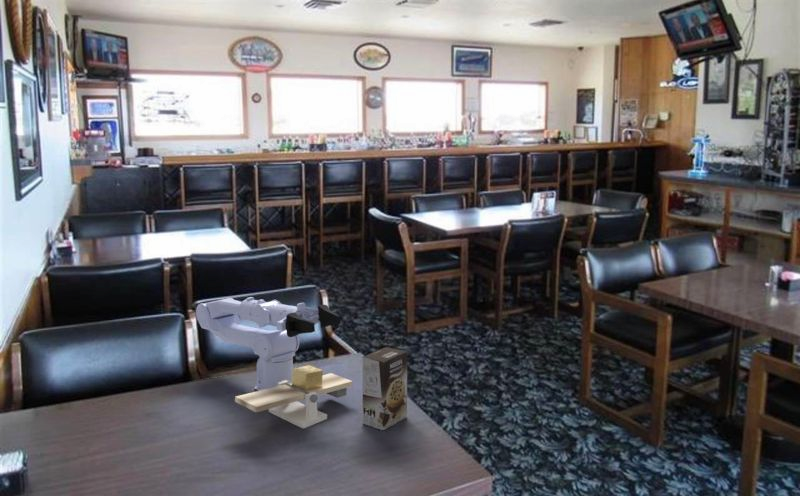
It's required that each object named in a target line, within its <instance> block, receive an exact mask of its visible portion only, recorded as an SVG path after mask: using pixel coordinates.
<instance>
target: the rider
mask: <svg viewBox="0 0 800 496" xmlns="http://www.w3.org/2000/svg"><path fill="white" fill-rule="evenodd" d="M323 372H324V370H323V369H321V368H317V367H315V366H314V365H313V366H312V365H310V364H308V365H303V366H298V367H293V371H292V385H293V386H295V387H297V388H300V389H302V390H305V391H307V390H311V389H315V388H319V387H322V376H323V375H324V374H323Z"/></svg>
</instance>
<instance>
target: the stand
mask: <svg viewBox="0 0 800 496" xmlns="http://www.w3.org/2000/svg"><path fill="white" fill-rule="evenodd" d="M285 383H288V384H289V381H287V380H284V381H282V380H279V381H278V383H277V386H280V385H284V384H285ZM304 402H305V404H304V403H302V402H300V401H296V402H292V403H289V404H285V405H281V406H278V407H274V408H270V409H268V413H270V414H273V415H274V416H276V417H279V418H280V419H282V420H285V421H286V422H288V423H291V424H292V425H295V426H296V427H298V428H301V429H306V428H309V427H311V426H313V425H316V424H317V423H320V422H323V421H325V420H327V419H328V414H326V413H324V412H322V411H321V410H318V396H317V393H315V392H311V393H309V394H306V395H305V399H304Z"/></svg>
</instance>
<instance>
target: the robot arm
mask: <svg viewBox="0 0 800 496" xmlns="http://www.w3.org/2000/svg"><path fill="white" fill-rule="evenodd" d="M317 308H318V309H317ZM317 308H312V307H307V306H306V303H305V302H300V303H297V304H296V306H295V305H288V304H283V303H281V301H279V300H277V299H272V300H271V301H265V300H264V299H255V298H254V297H252V296H250V297H246V299H244V300H242V301H241V300H236V299H234V298H233V297H226V298H224V299H218V300H215V301H210V302H204V303H202V302H201V303H199V304H197V306H196V308H195V317H196V319H197V322H198V324H199V326H200V327H201V329H204V330H207V331H211V332H212V334H214V335H215V336H216V337H217V338H218V339H220V340H221V341H222V342H225V343H226V342H227V343H229V344H234V345H237V346H241V347H242V346H243V347H246V348H249V349H252V350H253V354H254V355H257V356H258V357H259V358H258V359H257V362H256V384H257V385H256V386H254V390H256V391H260V390H264V389H268V388H272V387H276V386H277V383H278V381H279V380H282V381H284V380H287V381H289V383H292V371H293V368H294V364H293V363H294V362H293V360H294V358H293V357H295V356H296V352H297V351H298V349H299V346H300V337H299V335H300V334H310V333H311V334H312V333H314V332H316V329H315V326H316V325H317V324H318V323H320V328H321V329H324V328H328V327H329V326H332V327H333V326H339V325H341V315H339V314H337V313H335V312H333V311H332V310H331V308H329V306H328V305H327V304H320V305H318V306H317ZM240 319H241V320H243V321H246V322H252V323H255V324H256V325H258V327H259V328H256V327H252V326H248V325H244V324H241V321H240ZM267 326H271V327H272V326H273V327H276V330H275V329H273V330H267V329H262V328H264V327H267Z"/></svg>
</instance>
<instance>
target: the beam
mask: <svg viewBox="0 0 800 496" xmlns="http://www.w3.org/2000/svg"><path fill="white" fill-rule="evenodd" d="M353 383H354V382H353V380H351V379H348V378H344V377H342V376H340V375H337V374H334V373H332V372H331V373H330V372H329V373H327V374H323V376H322V387H319V388H315V389H311V390H307V391H305V390H302V389H300V388H297V387H295V386H293V385H292V383H289V384H288V383H285V384H284V385H280V386H276V387H272V388H268V389H264V390H260V391H258V390H256V391H252V392H249V393H244V394H240V395H236V396H234V403H237V404H238V405H240V406H242V407H244V408H247V409H248V410H251V411H252V412H255V413H258V412H263V411H266V410H269V409H270V408H274V407H278V406H281V405H285V404H289V403H292V402H296V401H298V402H300V401H303V400H305V395H306V394H309V393H311V392H315V393H317V397H318V396H321V395H325V394H326V395H329V396H330V397H334V398H336V399H338V398H343V397H345V396H347V392H348V391H347V389H348V388H351V387H353Z"/></svg>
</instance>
